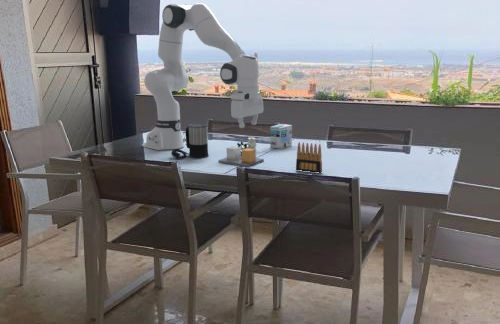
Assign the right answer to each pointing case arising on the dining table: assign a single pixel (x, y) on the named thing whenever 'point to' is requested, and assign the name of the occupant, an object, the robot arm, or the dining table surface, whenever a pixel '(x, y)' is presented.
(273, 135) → the light bulb box
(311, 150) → the ammunition clip
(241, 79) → the robot arm
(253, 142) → the valve
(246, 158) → the orange wooden block
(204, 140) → the milk frother
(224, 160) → the junction plate
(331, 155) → the dining table surface
